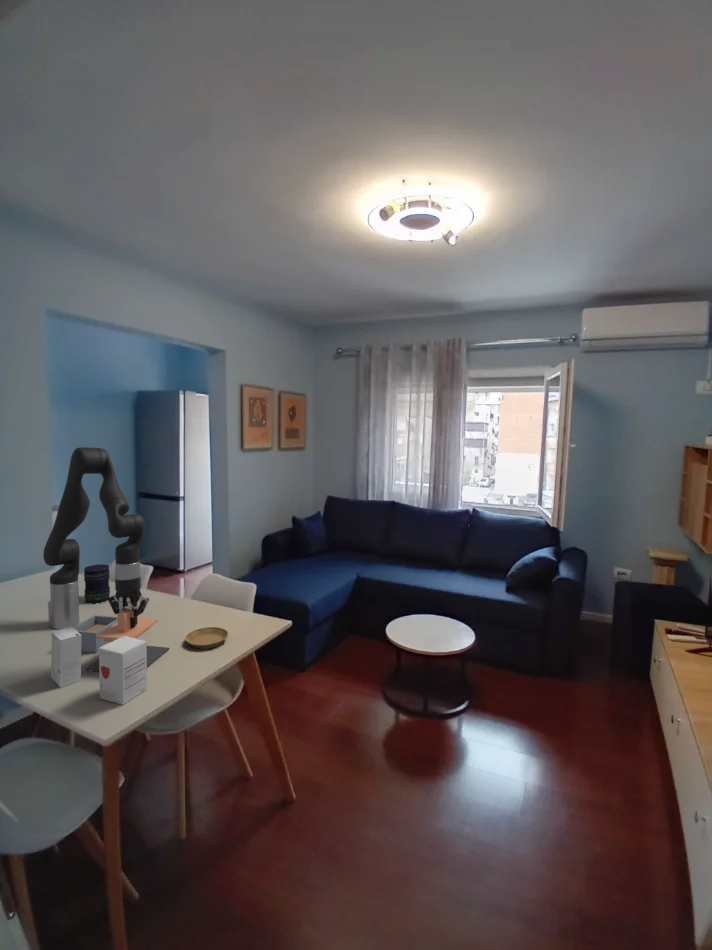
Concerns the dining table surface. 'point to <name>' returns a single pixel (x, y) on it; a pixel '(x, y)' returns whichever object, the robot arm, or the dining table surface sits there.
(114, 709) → the dining table surface
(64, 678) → the skincare box
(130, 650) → the supplement box
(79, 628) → the slate storage box
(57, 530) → the robot arm
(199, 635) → the plant saucer
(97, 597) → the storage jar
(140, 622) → the peach handled lid
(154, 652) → the black rubber mat
